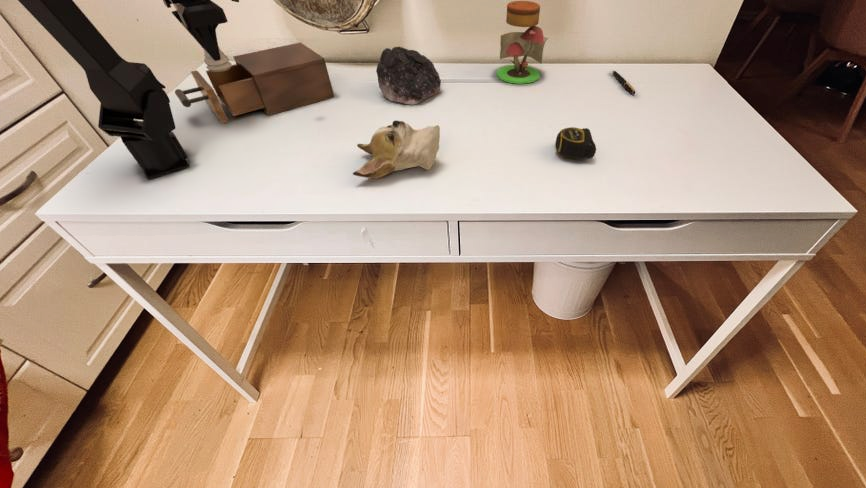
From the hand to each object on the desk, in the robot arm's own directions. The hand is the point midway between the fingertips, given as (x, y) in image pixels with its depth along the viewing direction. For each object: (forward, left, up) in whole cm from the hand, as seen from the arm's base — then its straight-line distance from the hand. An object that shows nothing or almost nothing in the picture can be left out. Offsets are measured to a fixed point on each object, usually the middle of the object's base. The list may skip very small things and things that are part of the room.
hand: (214, 57), depth 75 cm
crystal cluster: (+34, -15, -11) cm, 38 cm away
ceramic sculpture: (+15, -39, -11) cm, 44 cm away
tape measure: (+44, -56, -11) cm, 71 cm away
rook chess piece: (0, 0, -2) cm, 2 cm away
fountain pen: (+77, -42, -11) cm, 88 cm away
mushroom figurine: (+61, -23, -11) cm, 65 cm away
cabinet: (+12, 0, -11) cm, 16 cm away
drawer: (0, 0, -10) cm, 10 cm away
